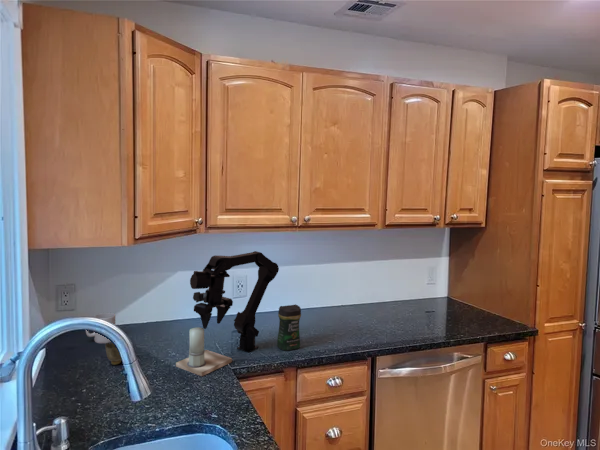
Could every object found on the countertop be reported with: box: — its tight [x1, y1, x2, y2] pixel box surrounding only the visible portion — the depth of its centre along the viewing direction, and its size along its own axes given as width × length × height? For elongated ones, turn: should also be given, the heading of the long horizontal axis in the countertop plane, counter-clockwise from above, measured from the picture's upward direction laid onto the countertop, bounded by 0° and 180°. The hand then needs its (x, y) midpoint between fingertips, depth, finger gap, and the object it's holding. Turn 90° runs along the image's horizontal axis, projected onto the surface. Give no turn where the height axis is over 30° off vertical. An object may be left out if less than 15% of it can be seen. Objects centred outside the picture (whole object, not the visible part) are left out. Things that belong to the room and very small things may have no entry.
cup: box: [104, 342, 122, 366], centre depth 169 cm, size 8×7×8 cm
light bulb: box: [188, 327, 206, 366], centre depth 167 cm, size 6×6×13 cm
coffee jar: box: [276, 304, 302, 351], centre depth 190 cm, size 10×8×19 cm
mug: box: [85, 312, 116, 344], centre depth 192 cm, size 12×8×11 cm
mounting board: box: [175, 349, 233, 377], centre depth 171 cm, size 16×14×5 cm
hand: (211, 326), depth 176 cm, fingers open, 9 cm apart
